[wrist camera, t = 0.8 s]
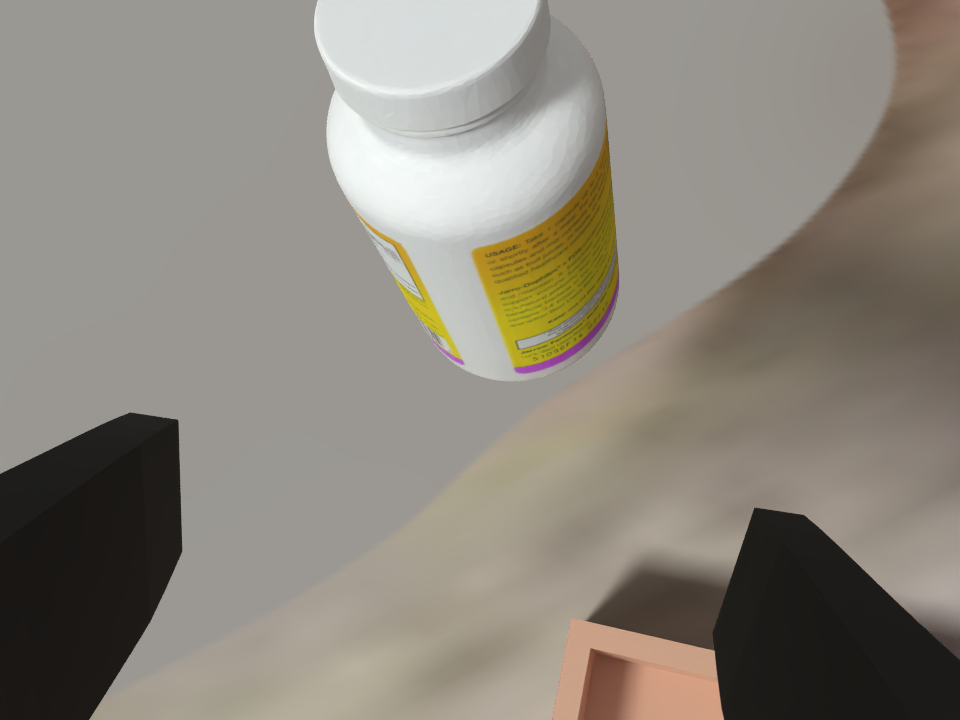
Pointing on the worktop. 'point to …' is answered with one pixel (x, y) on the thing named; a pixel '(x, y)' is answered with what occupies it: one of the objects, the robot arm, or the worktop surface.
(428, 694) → the worktop surface
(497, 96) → the supplement bottle
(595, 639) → the peach open box
